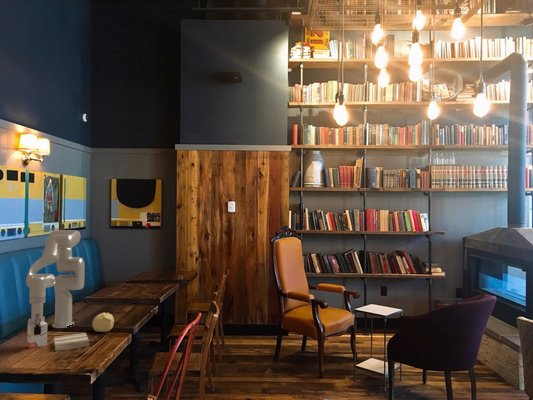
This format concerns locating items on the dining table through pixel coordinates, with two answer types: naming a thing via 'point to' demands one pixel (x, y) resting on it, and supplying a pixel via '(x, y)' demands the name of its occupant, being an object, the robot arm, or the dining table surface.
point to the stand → (71, 341)
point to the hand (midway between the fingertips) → (37, 332)
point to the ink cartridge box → (36, 339)
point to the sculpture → (103, 322)
